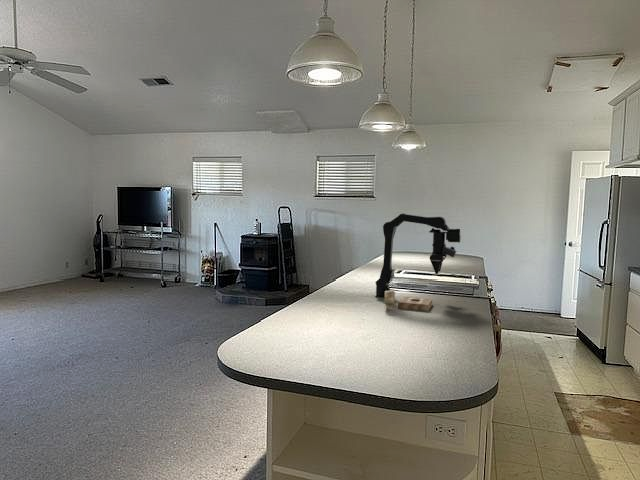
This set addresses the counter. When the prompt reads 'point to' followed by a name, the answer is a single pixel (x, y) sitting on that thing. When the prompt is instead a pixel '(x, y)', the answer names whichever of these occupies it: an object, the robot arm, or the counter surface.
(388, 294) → the peg
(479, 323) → the counter surface
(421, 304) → the seat block
